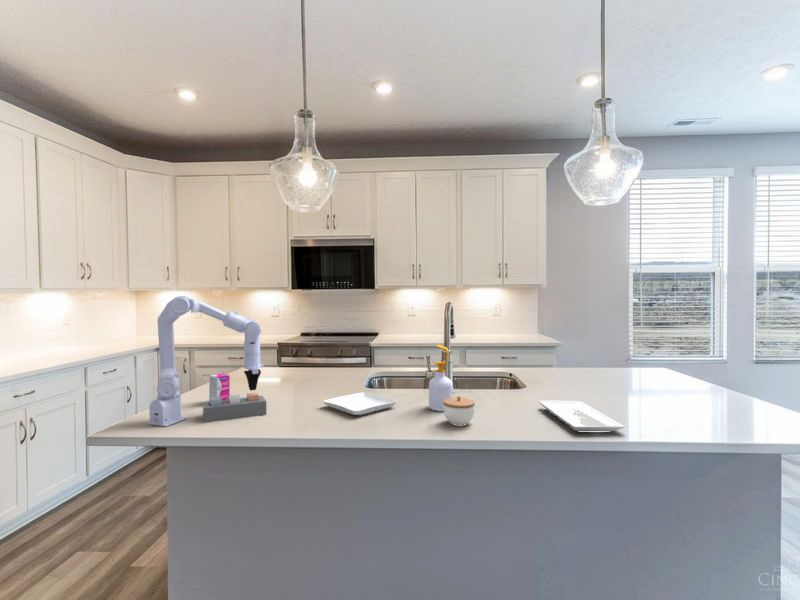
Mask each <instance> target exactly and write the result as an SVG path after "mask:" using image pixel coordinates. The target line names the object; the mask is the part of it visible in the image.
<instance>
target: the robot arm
mask: <svg viewBox="0 0 800 600" xmlns="http://www.w3.org/2000/svg"><path fill="white" fill-rule="evenodd" d="M189 312H190V313H191V314H192V313H193V314H195V313H202V314H203V315H207V316H209V317H211V318H214V319H216V320H219V321H222V324H223V326H224V327H225V328H228V329H231V330H233V331H235V332H238V333H241V334H242V333H244V341H243V359H244V360H243V361H244V362H243V369H246V370H244V371H243V374H244V375H245V377H246V381H247V385H248V389H249V391H257V386H258V381H259V378H260V375H261V373H262V371H261V368H263V367H264V363H261V341H260V339H261V336H260V335H261V331H262V330H261V327H260V324H259V323H257V322H256V321H255V320H253V319H252V320H251V318H250V317H244V316H242V315H240V314H239V312H238V311H234V312H233V311H229V312H224V311H222V310H221V309H219V308H216V307H214V306H212V305H209V304H207V303H205V302H203V301H200V300H198V299H194V298H191V297H188V296H185V295H181V296H176V297H174V298H172V299H171V300H170V301H168V302H167V303H166V305H165V307H164V309H162V311H161V313H160V314H159V315H158V318H157V333H158V334H157V336H158V337H157V338H158V350H159V351H158V352H159V354H158V355H159V367H160V368H159V369H160V371H159V377H158V378H159V381H158V384H157V387H156V392H157V396H156V399H154V400H152V401H151V403H149V422H148V423H147V425H151V426H157V427H168V426H170V425H174V424H176V423H178V422H181V421H184V420H186V419H188V417H187V416H182V402H181V400H182V398H181V397H182V396H181V395H182V394H181V392H180V391H179V390H178V389H179V388H180V386H181V380H180V378H179V376H178V373H177V372H178V371H177V367H176V351H175V332H174V323H175V322H176V321H177V320H178V319H179V318H180V317H182V316H183V315H185V314H188V313H189Z"/></svg>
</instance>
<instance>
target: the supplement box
mask: <svg viewBox="0 0 800 600" xmlns="http://www.w3.org/2000/svg"><path fill="white" fill-rule="evenodd" d="M230 377H231V376H230V375H229V374H227V373H216V374H210V375H209V380H208V381H209V391H208V392H209V393H208V394H209V396H208V398H209V401H210V398H212V397H221V399H222V400H227V399H229V396H231V395H230V393H231V392H230V388H231V387H230V386H231V384H230V382H231V380H230V379H231V378H230ZM209 401H208V402H209Z"/></svg>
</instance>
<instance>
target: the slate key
mask: <svg viewBox="0 0 800 600" xmlns="http://www.w3.org/2000/svg"><path fill="white" fill-rule="evenodd" d="M214 405H222V399H221V397H212V398H210V406H214Z"/></svg>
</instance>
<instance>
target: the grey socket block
mask: <svg viewBox="0 0 800 600" xmlns="http://www.w3.org/2000/svg"><path fill="white" fill-rule="evenodd" d="M258 396H259V400H258V401H249V402H247V396H246V397H240V403H232V404H229V399H227V400H222V405H214V406H210V401H203V402H202V418H203V423H204V422H205V423H211V421H213V422H218V421H219V422H220V420H221V421H227V420H235V418H236V419H242V418H243V417H244V418H249V417H250V416H251V417H257V416H258V415H259V416H265V415H267V400H266V399H265V398H264V396H263V395H258Z"/></svg>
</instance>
